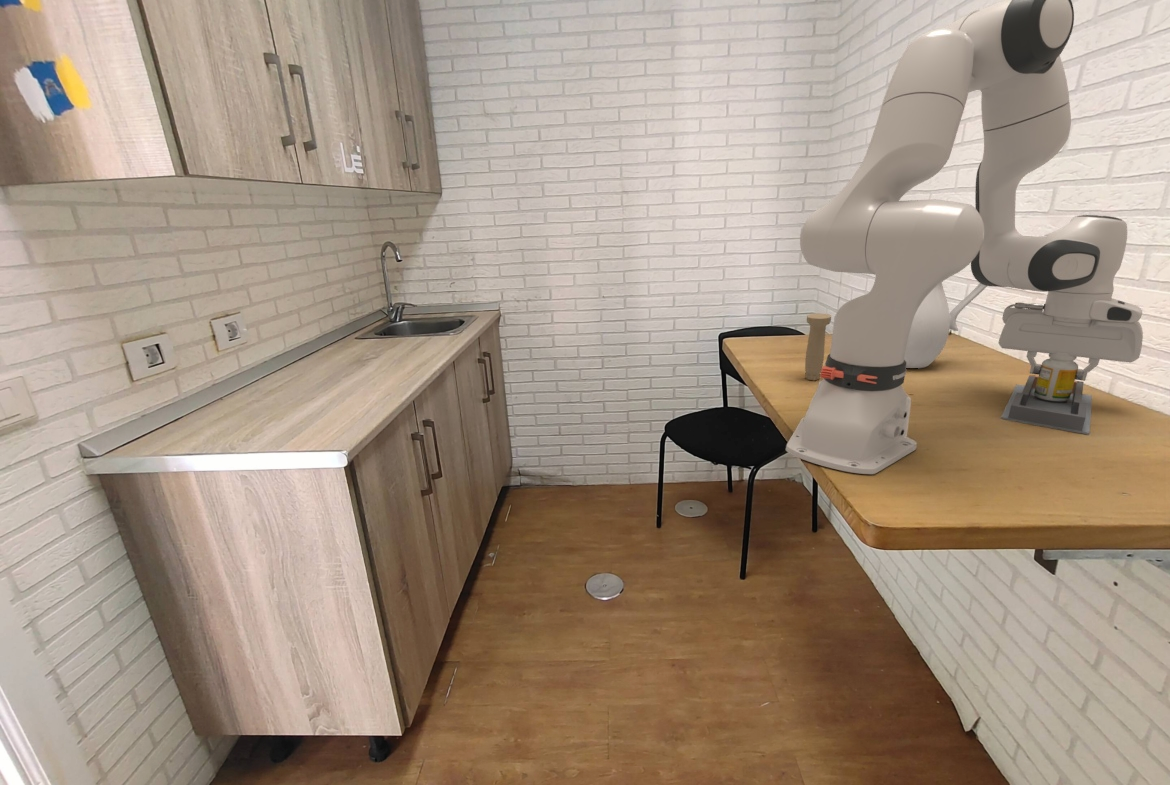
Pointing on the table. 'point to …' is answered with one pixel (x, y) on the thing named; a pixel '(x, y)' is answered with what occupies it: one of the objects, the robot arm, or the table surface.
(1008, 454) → the table surface
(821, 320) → the handle
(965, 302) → the pitcher
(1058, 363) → the supplement bottle
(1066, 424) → the gray rectangular stand
